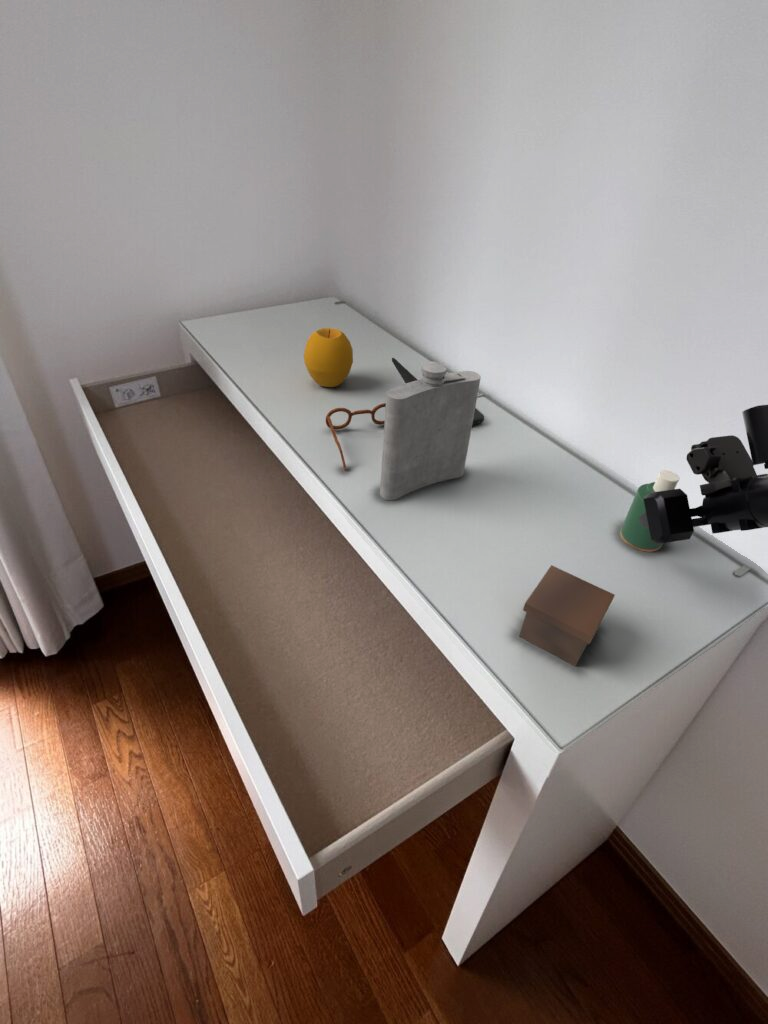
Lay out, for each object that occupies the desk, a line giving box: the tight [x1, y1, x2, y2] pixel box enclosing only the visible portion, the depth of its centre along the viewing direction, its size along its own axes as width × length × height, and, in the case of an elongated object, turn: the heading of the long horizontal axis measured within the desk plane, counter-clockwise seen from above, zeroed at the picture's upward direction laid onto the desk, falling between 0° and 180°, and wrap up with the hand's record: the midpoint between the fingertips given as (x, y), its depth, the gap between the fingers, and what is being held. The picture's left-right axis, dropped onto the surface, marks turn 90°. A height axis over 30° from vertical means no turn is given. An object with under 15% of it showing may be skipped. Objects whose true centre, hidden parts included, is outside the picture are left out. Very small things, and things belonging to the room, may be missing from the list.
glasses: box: [325, 402, 386, 471], centre depth 98 cm, size 13×13×5 cm
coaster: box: [619, 530, 663, 553], centre depth 85 cm, size 6×6×1 cm
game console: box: [391, 357, 485, 426], centre depth 108 cm, size 16×14×9 cm
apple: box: [303, 327, 354, 388], centre depth 113 cm, size 10×10×12 cm
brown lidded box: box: [518, 565, 616, 667], centre depth 68 cm, size 8×8×6 cm
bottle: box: [620, 469, 680, 550], centre depth 81 cm, size 6×6×11 cm
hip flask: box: [379, 361, 482, 501], centre depth 86 cm, size 16×4×20 cm, turn 122°
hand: (668, 516), depth 79 cm, fingers open, 9 cm apart
